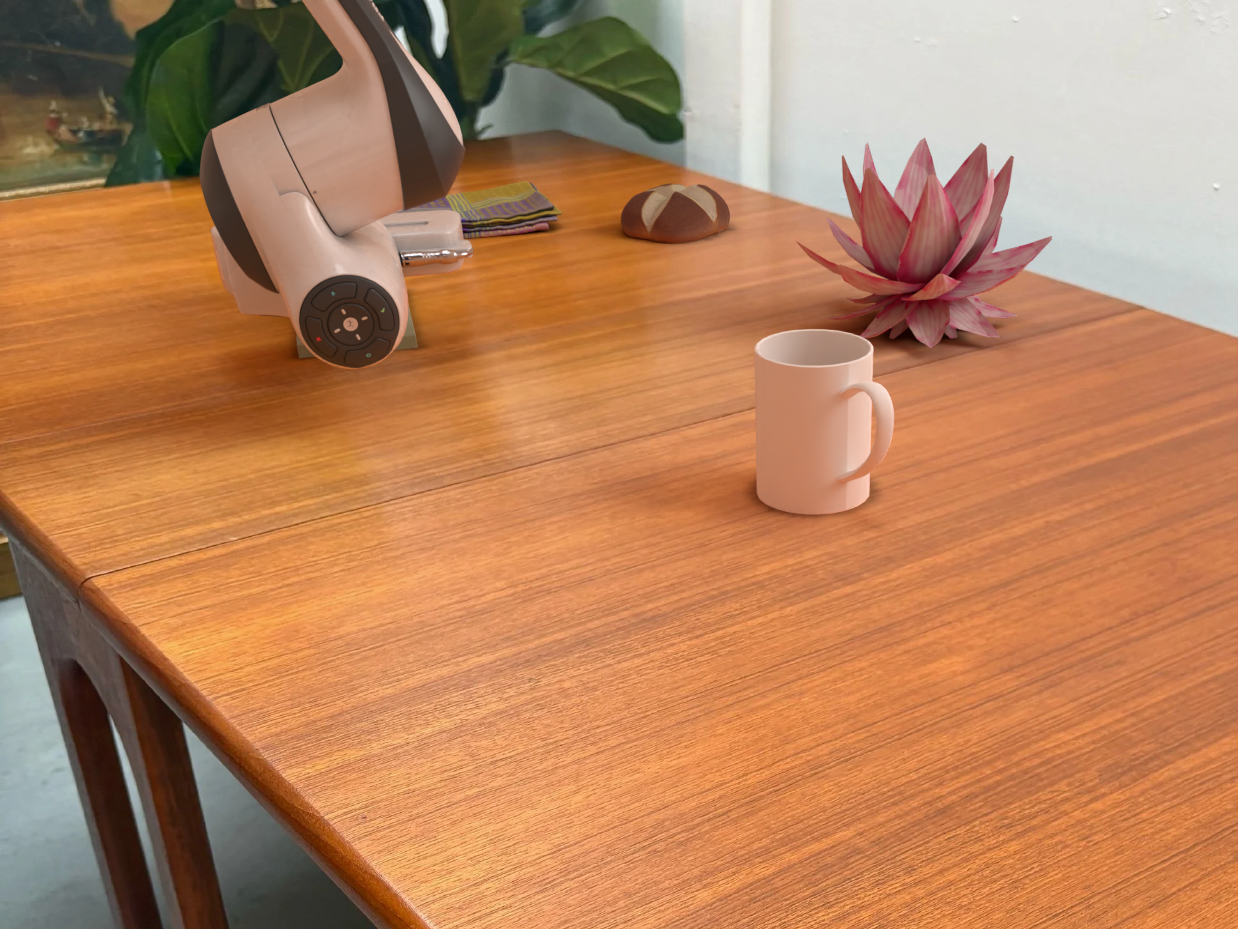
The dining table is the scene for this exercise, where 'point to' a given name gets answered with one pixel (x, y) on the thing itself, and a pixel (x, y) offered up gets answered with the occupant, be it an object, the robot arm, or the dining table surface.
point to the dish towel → (498, 210)
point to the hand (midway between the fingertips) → (338, 224)
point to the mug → (817, 420)
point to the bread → (675, 214)
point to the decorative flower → (929, 247)
